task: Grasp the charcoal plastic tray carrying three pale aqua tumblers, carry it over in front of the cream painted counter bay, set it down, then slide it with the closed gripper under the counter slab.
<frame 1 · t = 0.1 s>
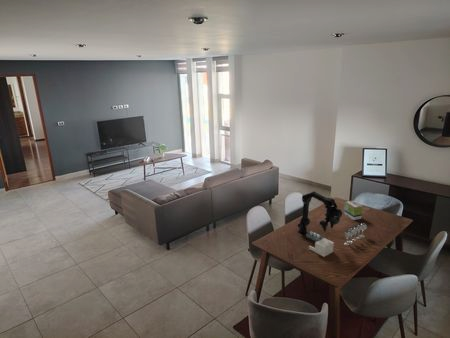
hand: (328, 229, 265), 15 cm above the table, fingers open, 9 cm apart
tray: (314, 238, 279), on the table
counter: (321, 250, 260), on the table
goblet set: (354, 239, 276), on the table
tea box: (352, 216, 320), on the table
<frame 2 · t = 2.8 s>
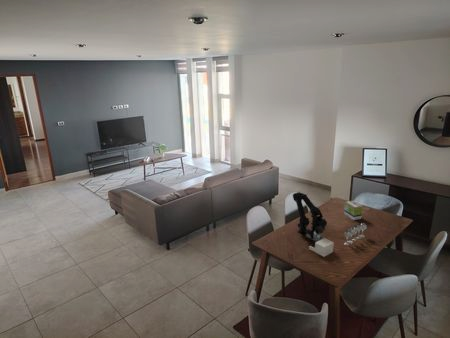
hand: (314, 237, 279), 1 cm above the table, fingers closed on tray, 6 cm apart
tray: (314, 238, 279), on the table, touching gripper
everything else where it was.
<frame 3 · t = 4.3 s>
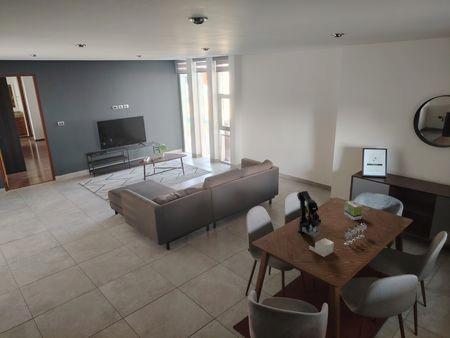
hand: (310, 231, 269), 11 cm above the table, fingers closed on tray, 6 cm apart
tray: (310, 232, 270), point 10 cm above the table, touching gripper
everything else where it was.
when the fingers open (2 cm above the table, at t = 6.3 s): tray stays where it is, on the table.
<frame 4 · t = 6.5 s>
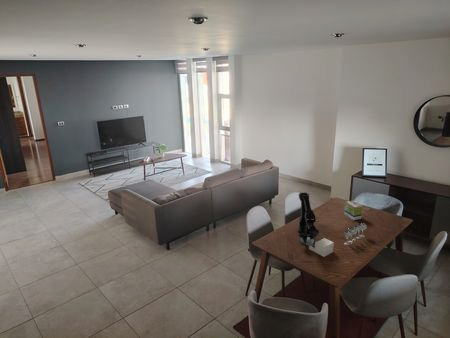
hand: (308, 241, 271), 2 cm above the table, fingers open, 8 cm apart
tray: (308, 243, 271), on the table
everything else where it was.
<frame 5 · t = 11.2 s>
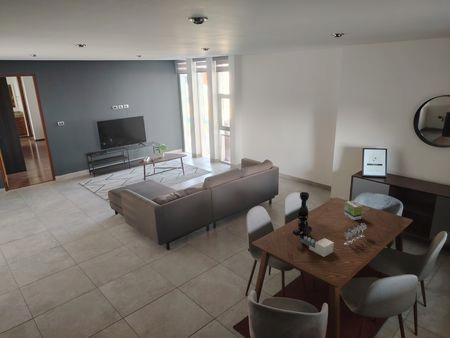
hand: (301, 238, 277), 2 cm above the table, fingers closed, pressing on tray
tray: (308, 244, 271), on the table, touching gripper
everything else where it was.
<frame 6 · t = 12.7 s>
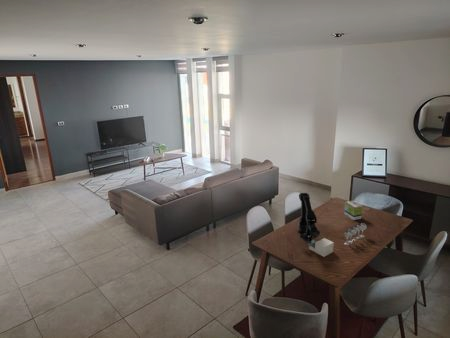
hand: (309, 242, 270), 2 cm above the table, fingers closed, pressing on tray
tray: (316, 248, 264), on the table, touching gripper
everything else where it was.
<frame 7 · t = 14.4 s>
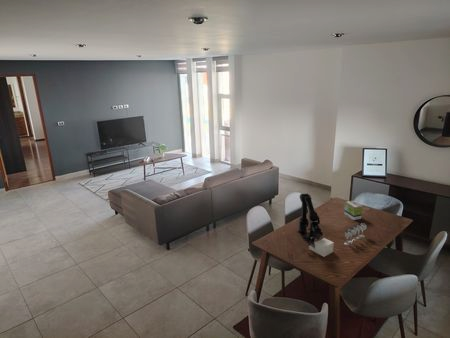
hand: (311, 243, 268), 2 cm above the table, fingers closed
tray: (319, 249, 262), on the table
everything else where it was.
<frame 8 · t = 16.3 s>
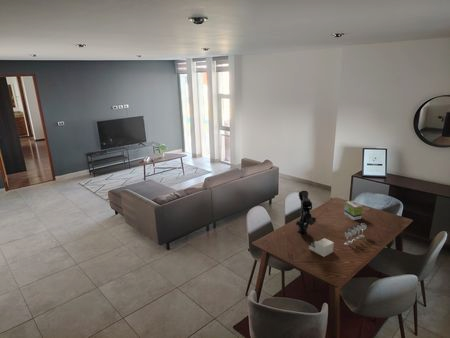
hand: (305, 230, 271), 12 cm above the table, fingers closed
nothing on the table moved.
at the end: tray inside the target area (1.4 cm from its centre), on the table; tray tilted 0°; the gripper is holding nothing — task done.
